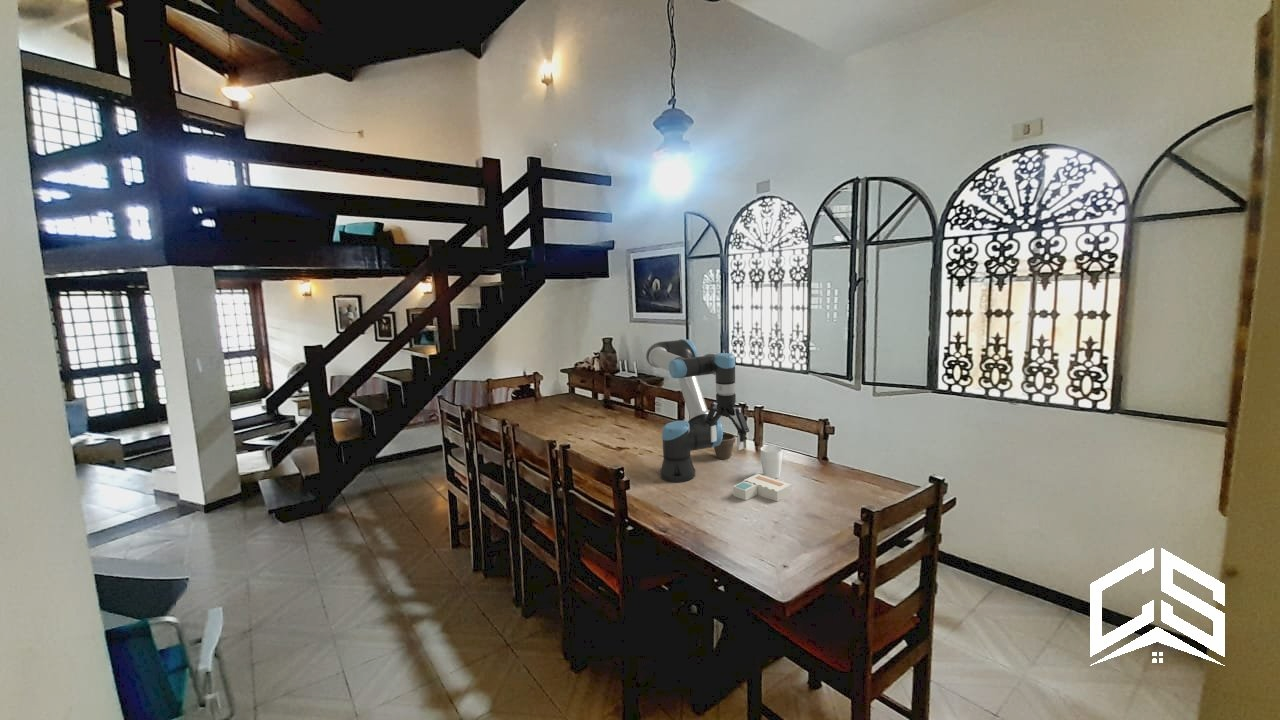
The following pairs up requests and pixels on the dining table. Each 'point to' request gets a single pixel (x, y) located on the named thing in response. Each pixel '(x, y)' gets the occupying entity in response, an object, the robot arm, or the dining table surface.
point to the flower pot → (725, 446)
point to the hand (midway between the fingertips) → (726, 445)
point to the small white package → (770, 487)
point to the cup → (771, 461)
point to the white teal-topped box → (745, 490)
